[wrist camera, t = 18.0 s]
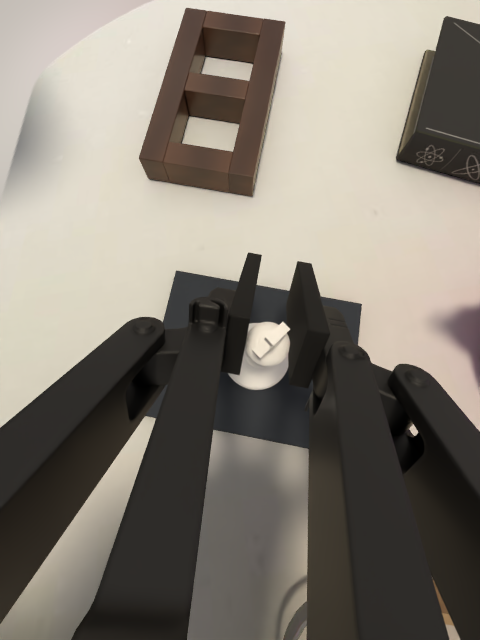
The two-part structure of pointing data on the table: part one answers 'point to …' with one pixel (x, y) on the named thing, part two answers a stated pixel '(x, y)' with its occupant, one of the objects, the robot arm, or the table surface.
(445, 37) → the book
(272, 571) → the table surface
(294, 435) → the mat
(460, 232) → the table surface
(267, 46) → the holder
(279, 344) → the chess piece
